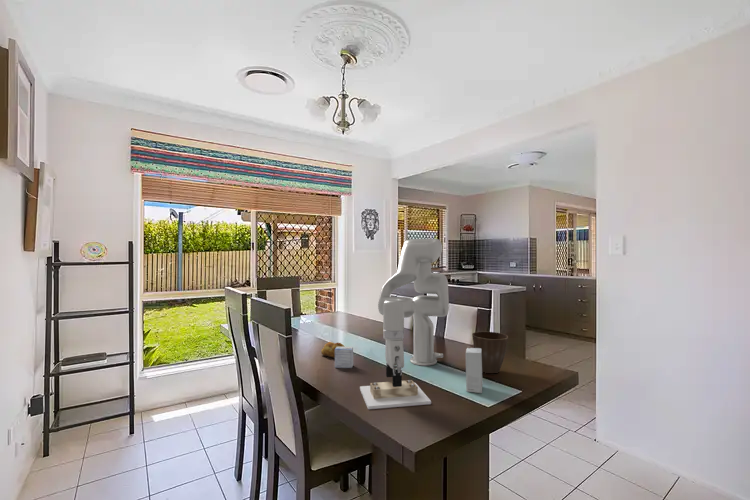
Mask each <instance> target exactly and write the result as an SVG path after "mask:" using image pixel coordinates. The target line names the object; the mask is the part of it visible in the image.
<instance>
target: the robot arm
mask: <svg viewBox="0 0 750 500" xmlns="http://www.w3.org/2000/svg"><path fill="white" fill-rule="evenodd" d="M440 240H441V239H438V238H411V239H407V240H405V241H404V242H403V245H402V248H401V252H400V255H399V256H400V257H399V260H398V266H397V268H396V269H397V270H396V272H395V273H394V275H392V276H391V277H389V278H388V279H387V280H386V282H385V283H384V284H383V286H382V288H381V290H380V295H379V298H378V303H377V309H378V312H379V314H380V315H382V316H383V324H382V327H383V330H382V331H383V334H382V335H383V340H385V353H384V357H385V363H386V366H385V376H386V378H392V379H391V380H392V381H391V382H392V385H393V387H400V386H402V381H403V380H402V378H403V374H402V372H403V370H402V369H403V368H405V352H404V339H405V319H406V318H410V317H413V318H412V319H413V320H412V321H413V324H412V325H413V356H412V357H410V363H411V364H413V365H416V366H422V367H423V366H425V367H427V366H428V367H429V366H434V365H436V364H437V362H438V360H437V359H439V358H440V359H441V358H444V353H439V352H435V351H434V341H435V339H434V328H435V327H434V323H433V321H432V319H431V318H430V317H435V318H436V317H437V318H438V317H440V318H443V317H447V316H448V314H449V310H450V309H449V308H450V304H449V303H450V302H449V282H448V278H447V276H446V274H444V273H433V272H432V263H434V262H436V261H437V260H438V259H439V258H440V257H441V255H442V251H443V244H442V241H440ZM411 283H413V288H414V291H415V292H416V293H418V294H428V295H417V296H414V297H413V298H411V297H405V296H404V297H402V296H392V293H393V292H395V290H398V288H399V289H400V288H401V287H404V286H406V285H408V284H411ZM429 294H430V295H429Z"/></svg>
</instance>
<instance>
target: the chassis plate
mask: <svg viewBox="0 0 750 500" xmlns="http://www.w3.org/2000/svg"><path fill="white" fill-rule="evenodd" d="M410 380H411V379H408V383H410ZM373 383H374V385H376V383H377V382H373ZM414 383H415V384H416V385H417V387H418V395H416V396H404V397H391V398H379V399H374V398H373V396H372V394H371V392H370V385H361V386H359V390H360V393H361V396H362V398H363V400H364V403H365V406H366V407H367V410H375V409H388V408H397V407H399V408H400V407H411V406H423V405H431V404H432V401H431V399H430V398H429V397H428V396H427V395H426V393H425V392H424V390H422V389H421V387H420V386H419V385H418V384H417V383H416V382H414ZM411 387H414V384H411ZM376 389H378V387H376Z"/></svg>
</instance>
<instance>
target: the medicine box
mask: <svg viewBox="0 0 750 500" xmlns="http://www.w3.org/2000/svg"><path fill="white" fill-rule="evenodd" d="M353 366H354V346H345V347H336V348H335V358H334V368H338V369H352V368H354V367H353Z"/></svg>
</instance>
